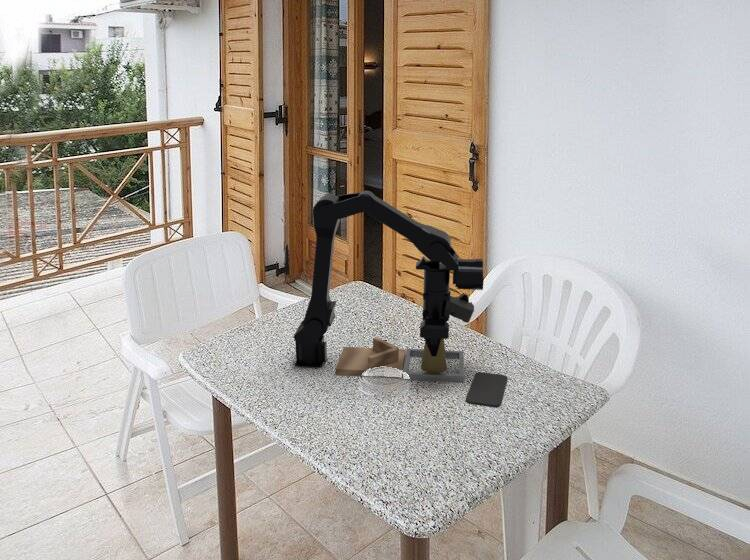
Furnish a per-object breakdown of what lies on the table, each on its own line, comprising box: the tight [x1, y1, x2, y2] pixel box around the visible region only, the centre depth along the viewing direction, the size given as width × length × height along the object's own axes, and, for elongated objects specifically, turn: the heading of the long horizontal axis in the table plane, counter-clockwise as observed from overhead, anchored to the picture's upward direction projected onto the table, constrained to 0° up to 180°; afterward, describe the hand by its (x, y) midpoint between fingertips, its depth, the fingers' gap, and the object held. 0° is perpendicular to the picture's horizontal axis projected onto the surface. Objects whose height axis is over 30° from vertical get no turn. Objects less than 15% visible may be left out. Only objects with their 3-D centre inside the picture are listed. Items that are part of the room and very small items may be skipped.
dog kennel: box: [335, 336, 407, 377], centre depth 167 cm, size 15×12×4 cm
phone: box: [465, 371, 508, 408], centre depth 156 cm, size 7×1×15 cm
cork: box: [420, 339, 448, 373], centre depth 165 cm, size 6×6×11 cm
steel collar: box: [403, 348, 465, 383], centre depth 166 cm, size 14×14×2 cm
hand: (434, 351), depth 165 cm, fingers closed on cork, 4 cm apart
